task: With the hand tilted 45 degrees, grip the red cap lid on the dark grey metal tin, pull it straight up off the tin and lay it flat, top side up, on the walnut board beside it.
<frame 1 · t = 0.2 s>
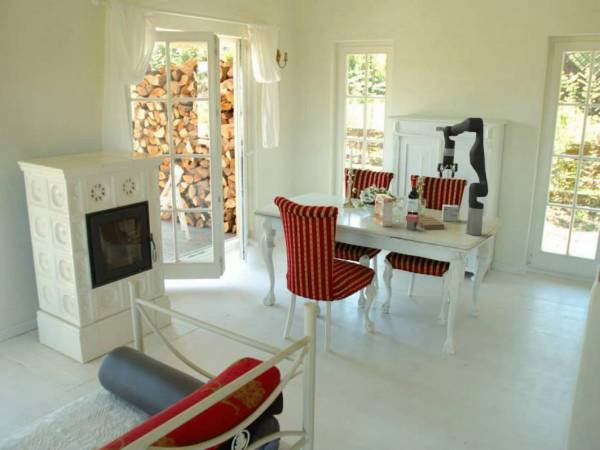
hand: (446, 177, 403), 29 cm above the table, tool pointing down, fingers open, 8 cm apart
light bulb box: (449, 220, 402), on the table
walnut board: (427, 224, 388), on the table
red lid: (412, 220, 375), point 6 cm above the table, touching grey tin
grey tin: (411, 228, 376), on the table, touching red lid
coffeecake box: (382, 224, 388), on the table
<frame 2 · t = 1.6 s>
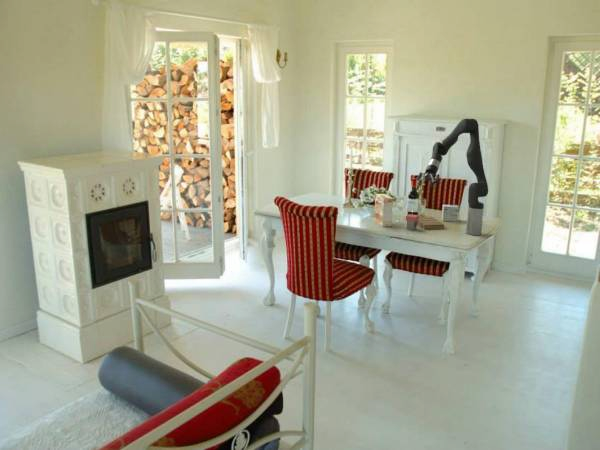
hand: (425, 186, 380), 27 cm above the table, tool tilted 45°, fingers open, 8 cm apart
nothing on the table moved.
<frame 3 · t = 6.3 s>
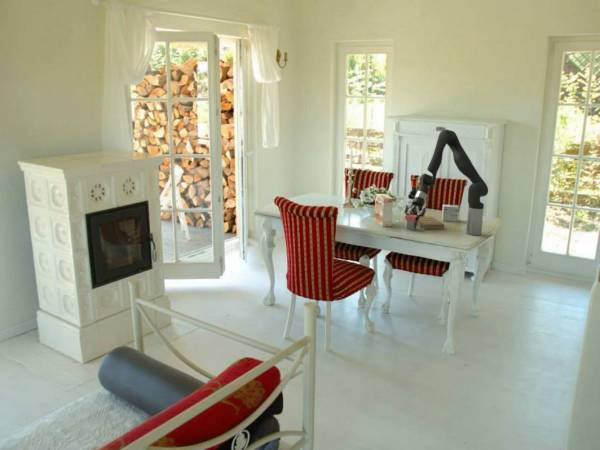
hand: (411, 219, 373), 6 cm above the table, tool tilted 45°, fingers closed on red lid, 6 cm apart
red lid: (412, 220, 375), point 6 cm above the table, touching gripper
grey tin: (411, 228, 376), on the table
everything else where it was.
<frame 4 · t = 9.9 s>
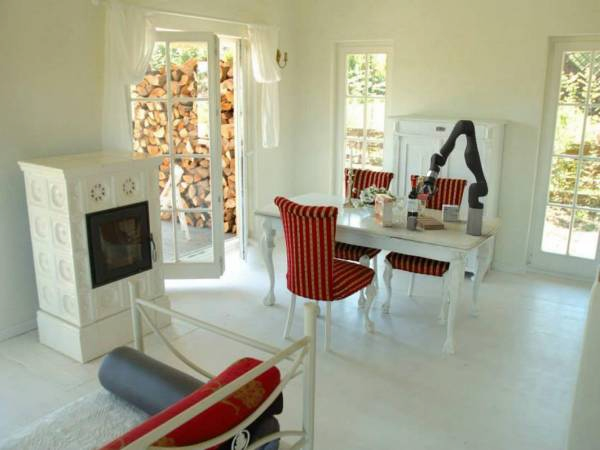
hand: (423, 198, 377), 19 cm above the table, tool tilted 45°, fingers closed on red lid, 6 cm apart
red lid: (423, 199, 379), point 19 cm above the table, touching gripper
everything else where it was.
when the fingers open (5 cm above the table, at t = 13.5 s): red lid drops 1 cm, resting on walnut board.
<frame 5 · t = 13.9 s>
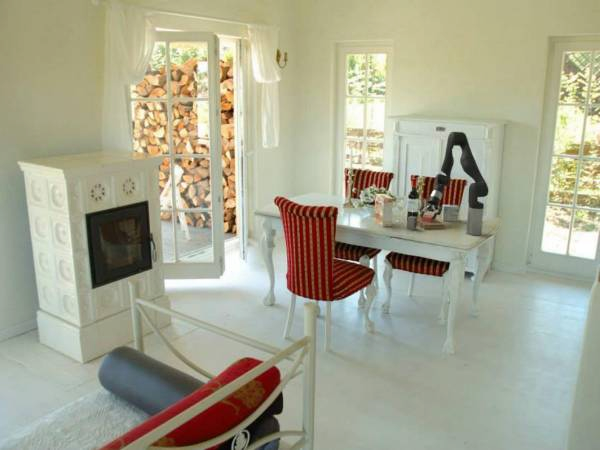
hand: (427, 217, 385), 5 cm above the table, tool tilted 45°, fingers open, 8 cm apart
red lid: (427, 220, 387), point 3 cm above the table, touching walnut board
everything else where it was.
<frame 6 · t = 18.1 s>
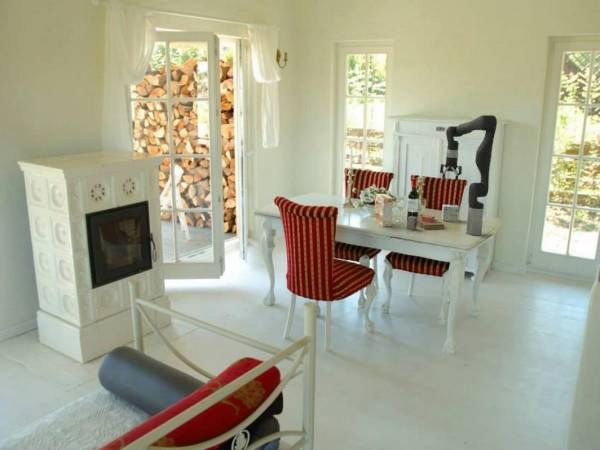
hand: (450, 180, 386), 30 cm above the table, tool pointing down, fingers open, 8 cm apart
nothing on the table moved.
at the end: red lid inside the target area on the walnut board (0.1 cm from its centre), point 3.0 cm above the walnut board's base; red lid tilted 0°; grey tin tilted 0° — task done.
